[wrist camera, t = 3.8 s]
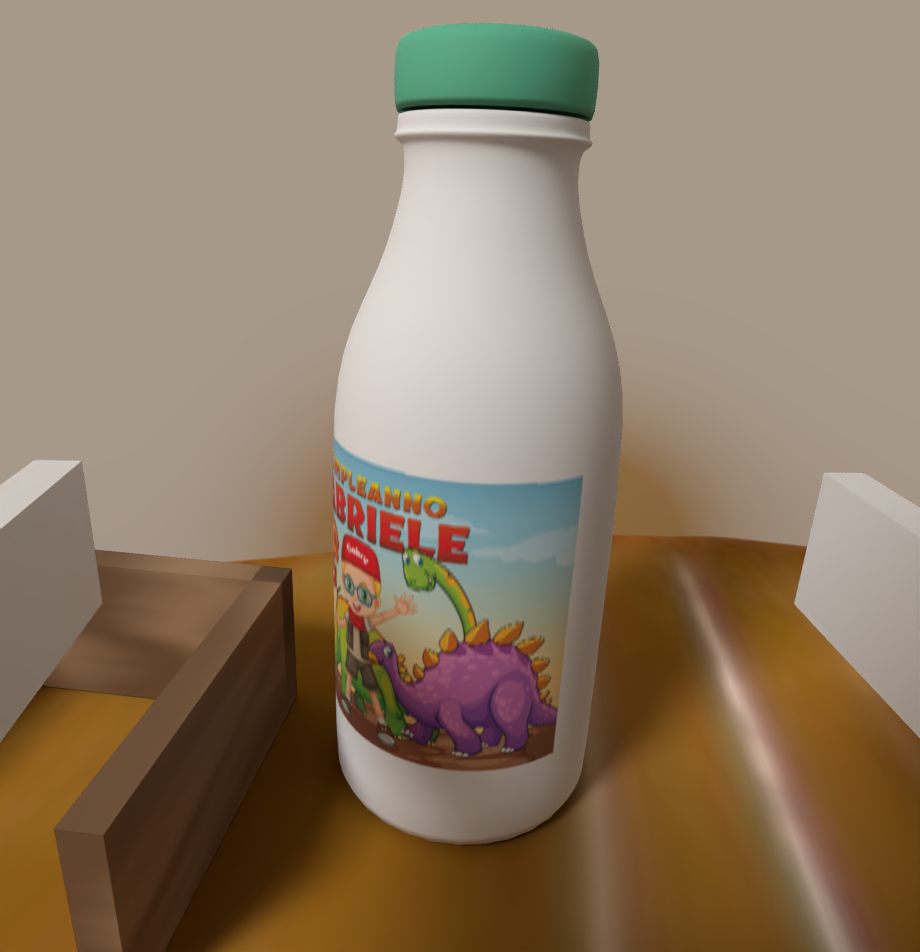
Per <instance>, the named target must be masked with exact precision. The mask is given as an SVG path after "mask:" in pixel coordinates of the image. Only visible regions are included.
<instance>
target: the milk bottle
mask: <svg viewBox="0 0 920 952" xmlns="http://www.w3.org/2000/svg"><path fill="white" fill-rule="evenodd" d="M598 75H599V58H598V51H597V49H596V47H595V46H594V45H593V44H592V43H591V42H590V41H588V40H586V39H584V38H581V37H579V36H576V35H573V34H570V33H567V32H563V31H559V30H554V29H548V28H542V27H534V26H526V25H514V24H496V23H495V24H494V23H463V24H448V25H440V26H432V27H428V28H423V29H419V30H416V31H413V32H410V33H408V34H407V35H405V36H404V37H403V38H402V39H400V41H399V44H398V47H397V51H396V58H395V76H394V85H395V104H396V108H397V112H399V113H401V114H399V116H398V125H397V126H398V127H397V131H396V133H395V134H394V137H395V138H396V139H397V140H398V141H399V142H400V143H401V144H402V146H403V150H404V178H403V185H402V190H401V196H400V200H399V204H398V208H397V212H396V215H395V219H394V223H393V227H392V230H391V233H390V236H389V239H388V242H387V245H386V248H385V251H384V254H383V256H382V259H381V261H380V264H379V267H378V269H377V271H376V274H375V276H374V278H373V280H372V283H371V285H370V287H369V289H368V292H367V294H366V296H365V298H364V301H363V303H362V305H361V307H360V309H359V312H358V314H357V317H356V319H355V322H354V324H353V326H352V329H351V331H350V335H349V338H348V341H347V344H346V348H345V351H344V354H343V359H342V364H341V368H340V373H339V379H338V387H337V395H336V404H335V415H334V416H335V418H334V454H333V456H334V457H333V537H334V539H333V540H334V541H333V542H334V543H333V547H334V620H335V676H336V722H337V741H338V755H339V762H340V765H341V769H342V772H343V774H344V776H345V778H346V780H347V782H348V784H349V785H350V787H351V789H352V790H353V792H354V794H355V795H356V797H357V798H358V799H359V800H360V801H361V802H362V803H363V804H364V806H365V807H366V808H367V809H368V811H370V812H371V813H373V814H374V815H375V816H377V817H378V818H379V819H381V820H382V821H383V822H384V823H386V824H387V825H389V826H392V827H394V828H396V829H398V830H400V831H402V832H404V833H406V834H408V835H411V836H415V837H418V838H422V839H425V840H428V841H431V842H438V843H447V844H454V845H470V844H488V843H492V842H496V841H502V840H508V839H511V838H513V837H516V836H518V835H520V834H523V833H526V832H528V831H531V830H533V829H534V828H536V827H537V826H538V825H540V824H541V823H543V822H545V821H546V820H548V819H550V818H551V816H552V815H553V814H554V813H555V812H556V811H557V810H558V809H559V808H560V807H561V806H562V805H563V804H564V803H565V801H566V800H567V799H568V798H569V796H570V795H571V793H572V792H573V790H574V789H575V787H576V785H577V783H578V780H579V778H580V775H581V771H582V765H583V760H584V754H585V748H586V742H587V735H588V727H589V720H590V712H591V704H592V696H593V689H594V681H595V673H596V665H597V657H598V649H599V641H600V633H601V625H602V617H603V609H604V601H605V593H606V585H607V576H608V567H609V559H610V550H611V541H612V533H613V524H614V515H615V506H616V498H617V489H618V477H619V465H620V452H621V440H622V427H623V425H622V424H623V419H622V418H623V415H622V386H621V377H620V368H619V362H618V357H617V352H616V348H615V343H614V339H613V336H612V332H611V329H610V325H609V322H608V319H607V316H606V313H605V310H604V307H603V304H602V301H601V298H600V295H599V292H598V289H597V285H596V282H595V279H594V276H593V272H592V268H591V265H590V261H589V258H588V253H587V248H586V243H585V238H584V233H583V226H582V220H581V213H580V206H579V194H578V173H579V165H580V160H581V157H582V155H583V152H584V151H585V150H587V149H588V148H590V147H591V146H592V142H591V140H590V123H589V122H588V121H591V120H592V117H593V115H594V112H595V106H596V98H597V90H598Z"/></svg>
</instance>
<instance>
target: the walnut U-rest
mask: <svg viewBox="0 0 920 952" xmlns="http://www.w3.org/2000/svg"><path fill="white" fill-rule="evenodd" d="M95 555H96V562H97V569H98V576H99V583H100V590H101V597H102V604H101V606H100V607H99V608H98V610H97V611H96V612H95V614H94V615H93V617H92V618H91V619H90V621H89V622H88V623H87V625H86V626H85V627H84V629H83V630H82V632H81V633H80V634H79V636H78V637H77V638H76V640H75V641H74V643H73V644H72V645H71V647H70V648H69V649H68V651H67V652H66V653H65V655H64V656H63V658H62V659H61V660H60V662H59V663H58V664H57V666H56V667H55V669H54V670H53V671H52V673H51V674H50V675H49V677H48V678H47V679H46V681H45V682H44V684H43V685H42V686H49V687H57V688H66V689H75V690H83V691H92V692H101V693H109V694H118V695H127V696H135V697H144V698H153V699H156V700H155V702H154V703H153V704H152V705H151V707H150V708H149V709H148V710H147V712H146V713H145V714H144V716H143V717H142V718H141V719H140V721H139V722H138V723H137V724H136V726H135V727H134V728H133V729H132V731H131V732H130V733H129V734H128V736H127V737H126V738H125V739H124V741H123V742H122V743H121V745H120V746H119V747H118V748H117V750H116V751H115V752H114V753H113V755H112V756H111V757H110V758H109V760H108V761H107V762H106V763H105V765H104V766H103V767H102V768H101V770H100V771H99V772H98V774H97V775H96V776H95V777H94V779H93V780H92V781H91V782H90V784H89V785H88V786H87V787H86V789H85V790H84V791H83V792H82V794H81V795H80V796H79V797H78V799H77V800H76V801H75V803H74V804H73V805H72V806H71V808H70V809H69V810H68V811H67V813H66V814H65V815H64V816H63V818H62V819H61V820H60V821H59V823H58V824H57V825H56V826H55V828H54V832H55V837H56V842H57V848H58V853H59V858H60V863H61V868H62V873H63V879H64V884H65V889H66V894H67V899H68V904H69V910H70V915H71V920H72V925H73V930H74V935H75V941H76V946H77V951H78V952H165V950H166V948H167V946H168V944H169V942H170V940H171V938H172V936H173V935H174V933H175V931H176V929H177V927H178V925H179V923H180V921H181V919H182V917H183V915H184V913H185V911H186V909H187V907H188V906H189V904H190V902H191V900H192V898H193V896H194V894H195V892H196V890H197V888H198V886H199V884H200V882H201V880H202V878H203V877H204V875H205V873H206V871H207V869H208V867H209V865H210V863H211V861H212V859H213V857H214V855H215V853H216V851H217V849H218V848H219V846H220V844H221V842H222V840H223V838H224V836H225V834H226V832H227V830H228V828H229V826H230V824H231V822H232V820H233V819H234V817H235V815H236V813H237V811H238V809H239V807H240V805H241V803H242V801H243V799H244V797H245V795H246V793H247V791H248V790H249V788H250V786H251V784H252V782H253V780H254V778H255V776H256V774H257V772H258V770H259V768H260V766H261V764H262V762H263V761H264V759H265V757H266V755H267V753H268V751H269V749H270V747H271V745H272V743H273V741H274V739H275V737H276V735H277V733H278V732H279V730H280V728H281V726H282V724H283V722H284V720H285V718H286V716H287V714H288V712H289V710H290V708H291V706H292V704H293V703H294V701H295V699H296V697H297V683H296V659H295V635H294V610H293V586H292V569H290V568H280V567H269V566H259V565H248V564H238V563H228V562H217V561H206V560H196V559H186V558H176V557H164V556H154V555H144V554H133V553H124V552H113V551H103V550H95Z"/></svg>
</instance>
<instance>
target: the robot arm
mask: <svg viewBox="0 0 920 952" xmlns="http://www.w3.org/2000/svg"><path fill="white" fill-rule="evenodd" d="M101 604H102V597H101V590H100V583H99V576H98V569H97V562H96V555H95V548H94V542H93V535H92V528H91V522H90V514H89V508H88V500H87V494H86V486H85V480H84V473H83V466H82V461H64V460H34V461H33V462H31V463H30V464H29V465H27V466H26V467H25V468H23V469H22V470H21V471H19V472H18V473H16V474H15V475H14V476H12V477H11V478H10V479H8V480H7V481H5V482H4V483H3V484H1V485H0V742H1V741H2V740H3V738H4V737H5V735H6V734H7V733H8V731H9V730H10V729H11V727H12V726H13V725H14V723H15V722H16V720H17V719H18V718H19V716H20V715H21V714H22V712H23V711H24V710H25V708H26V707H27V705H28V704H29V703H30V701H31V700H32V699H33V697H34V696H35V694H36V693H37V692H38V690H39V689H40V688H41V686H42V685H43V684H44V682H45V681H46V679H47V678H48V677H49V675H50V674H51V673H52V671H53V670H54V669H55V667H56V666H57V664H58V663H59V662H60V660H61V659H62V658H63V656H64V655H65V653H66V652H67V651H68V649H69V648H70V647H71V645H72V644H73V643H74V641H75V640H76V638H77V637H78V636H79V634H80V633H81V632H82V630H83V629H84V627H85V626H86V625H87V623H88V622H89V621H90V619H91V618H92V617H93V615H94V614H95V612H96V611H97V610H98V608H99V607H100V606H101ZM794 604H795V606H796V607H797V608H798V609H799V610H800V611H801V612H802V613H803V614H804V615H805V616H806V617H807V618H808V619H809V620H810V622H811V623H812V624H813V625H814V626H815V627H816V628H817V629H818V630H819V631H820V632H821V633H822V634H823V635H824V636H825V638H826V639H827V640H828V641H829V642H830V643H831V644H832V645H833V646H834V647H835V648H836V649H837V650H838V651H839V652H840V654H841V655H842V656H843V657H844V658H845V659H846V660H847V661H848V662H849V663H850V664H851V665H852V666H853V667H854V668H855V670H856V671H857V672H858V673H859V674H860V675H861V676H862V677H863V678H864V679H865V680H866V681H867V682H868V683H869V685H870V686H871V687H872V688H873V689H874V690H875V691H876V692H877V693H878V694H879V695H880V696H881V697H882V698H883V699H884V701H885V702H886V703H887V704H888V705H889V706H890V707H891V708H892V709H893V710H894V711H895V712H896V713H897V714H898V715H899V717H900V718H901V719H902V720H903V721H904V722H905V723H906V724H907V725H908V726H909V727H910V728H911V729H912V730H913V731H914V733H915V734H916V735H917V736H918V737H919V738H920V508H919V507H918V506H916V505H915V504H913V503H911V502H910V501H908V500H906V499H905V498H903V497H902V496H900V495H898V494H897V493H895V492H894V491H892V490H890V489H889V488H887V487H885V486H884V485H882V484H881V483H879V482H877V481H876V480H874V479H872V478H871V477H869V476H868V475H866V474H864V473H824V476H823V480H822V484H821V489H820V493H819V498H818V502H817V507H816V511H815V515H814V519H813V524H812V528H811V532H810V537H809V542H808V546H807V550H806V554H805V559H804V563H803V567H802V572H801V576H800V581H799V585H798V589H797V594H796V598H795V602H794Z"/></svg>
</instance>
